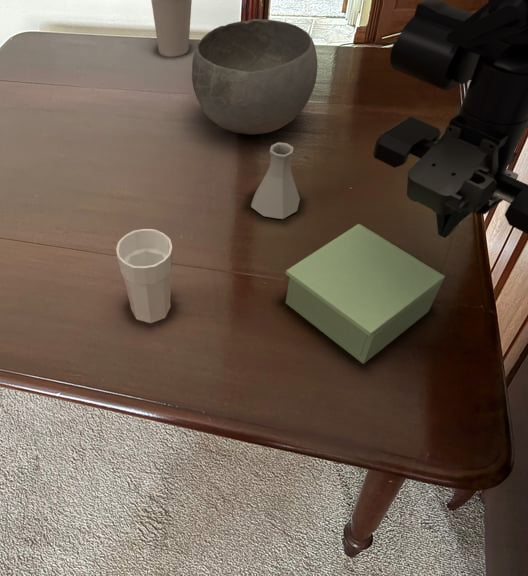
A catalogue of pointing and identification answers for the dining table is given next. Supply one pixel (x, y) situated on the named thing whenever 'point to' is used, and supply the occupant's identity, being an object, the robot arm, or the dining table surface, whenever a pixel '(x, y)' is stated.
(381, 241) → the lid
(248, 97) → the bowl
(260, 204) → the flask
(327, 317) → the file box
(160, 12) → the coffee cup
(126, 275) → the cup
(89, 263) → the dining table surface
